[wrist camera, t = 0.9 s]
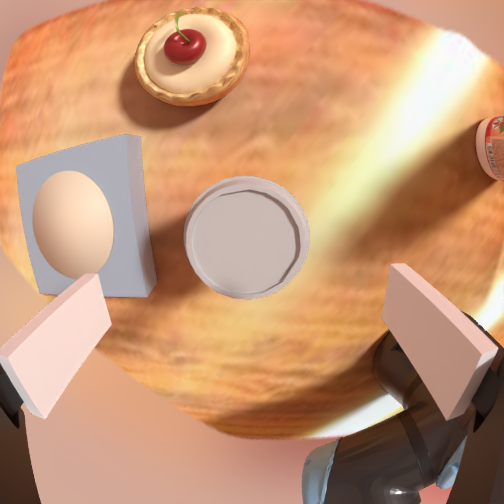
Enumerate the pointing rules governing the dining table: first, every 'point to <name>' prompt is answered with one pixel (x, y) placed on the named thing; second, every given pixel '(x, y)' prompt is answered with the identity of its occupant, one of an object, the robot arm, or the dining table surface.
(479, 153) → the fruit juice
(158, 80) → the pastry
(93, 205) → the serving stand
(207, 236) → the disposable coffee cup
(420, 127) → the dining table surface
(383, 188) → the dining table surface
